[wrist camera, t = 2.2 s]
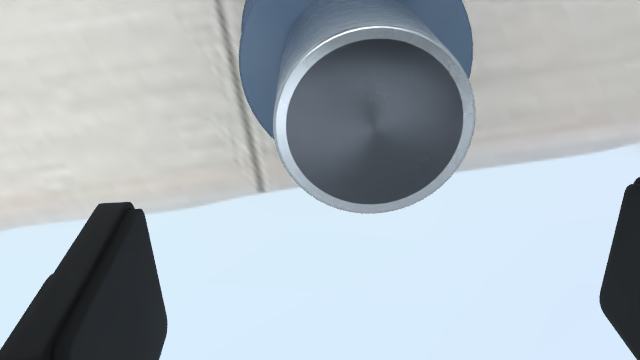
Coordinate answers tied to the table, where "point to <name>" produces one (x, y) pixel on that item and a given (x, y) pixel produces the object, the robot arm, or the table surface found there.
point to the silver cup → (370, 106)
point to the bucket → (282, 11)
